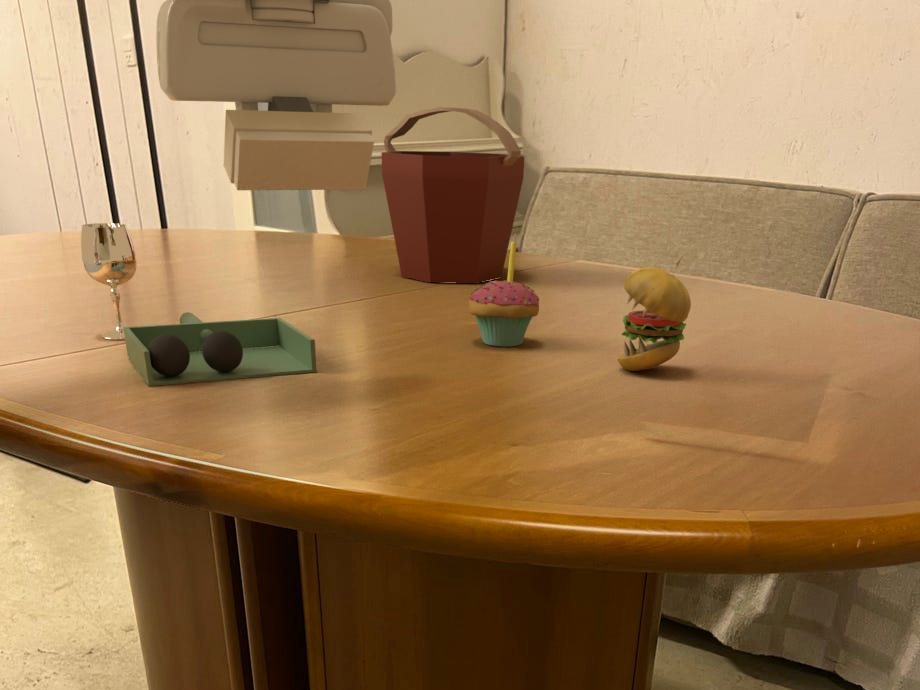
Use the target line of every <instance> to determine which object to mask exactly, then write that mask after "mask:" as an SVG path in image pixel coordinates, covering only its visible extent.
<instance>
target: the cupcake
mask: <svg viewBox="0 0 920 690" xmlns="http://www.w3.org/2000/svg"><path fill="white" fill-rule="evenodd" d="M516 237H517V234H516V233H514V234H513V241H510V249H509V259H508V269H507V279H505V280H502V279H499V280H494V281H489V282H484V284H483V285H481V286H480V287H478V288H476V289H475V290H474V291H473V292H472V293H471V296H469V297H468V299H469V301H468V310H469V313H470V315H472V316H474V318H475V321H477V325H478V329H479V331H480V336H481V339H482V343H484V344H485V345H488V346H492V347H499V348H511V347H518V346H520V345H522V344H523V341H524V338H525V336H526V332H527V330H528V328H529V325H530V322H531V321H532V319H533V317H536V316H538V314H539V311H540V297H539V296H538V295H537V293H536V292H535V290H533V289H532V288H530V287H529V286H528V285H525V284H524V283H522V284H521V283H519V282H516V281H514V271H515V263H516V255H517V254H516V252H517V244H518V242H517V241H516Z"/></svg>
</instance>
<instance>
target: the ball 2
mask: <svg viewBox="0 0 920 690" xmlns="http://www.w3.org/2000/svg"><path fill="white" fill-rule="evenodd" d="M243 349H244V348H243ZM243 349H242V345H241V343H240V341H239V340H238V339H237V338H236V337H235V336H234V335H233V334H231V333H229V332H225V331H216V332H213V333H211V334H210V335H209V336H208V337H207V338H206V339H205V341H204V343H203V346H202V351H201V352H202V354H203V357H204V360H205V362H206V363H207V364H208V365H209V366H210V367H211V368H212V369H214V370H216V371H219V372H229V371H232V370H234V369H236V368H237V367H238V366H239V364H240V363H241V361H242V358H243Z"/></svg>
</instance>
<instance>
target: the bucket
mask: <svg viewBox="0 0 920 690" xmlns="http://www.w3.org/2000/svg"><path fill="white" fill-rule="evenodd" d="M450 112H455V113H456V112H457V113H462V114H466V115H467V116H470V117H471V118H474V119H475V120H476V121H478V122H480V123H482V124H483V125H485V126H486V127H487V128H488V129H489V130H491V131H492V132H493V133H494V134H495V135H497V137H498V139H499V141H500V142H501V144H502V145H503V147H504V148H505V150H506V152H507V153H492V152H469V151H447V150H445V151H444V150H443V151H441V150H440V151H439V150H438V151H435V150H433V151H432V150H431V151H430V150H396V148H395V147H394V145H393V144H392V140H394V139H396V138H399V137H403V136H405V135H406V134H407V133H408V132H409V131H410V130H412V128H413V127H414V126H415V125H416V124H417V122H418V121H419V120H422V119H425V118H428V117H431V116H434V115H438V114H443V113H450ZM383 145H384V150H385V151H382V152H381V177H382V181H383V186H384V191H385V197H386V202H387V207H388V213H389V217H390V222H391V223H390V224H391V228H392V233H393V238H394V243H395V249H396V253H397V257H398V258H397V259H398V264H399V270H400V275H401V277H402V276H403V277H407V278H406V279H408V278H412V279H411V280H413V279H416V280H415V281H417V280H420V281H419V282H422V281H425V282H424V283H427V282H456V283H478V282H482V281H486V280H490V279H495V278H499V277H501V278H502V277H503V273H504V267H505V264H506V258H507V254H508V250H509V245H510V242H511V236H512V231H513V227H514V222H515V218H516V214H517V208H518V204H519V199H520V194H521V191H522V186H523V181H524V173H525V156H523V155H522V153H521V152H522V151H521V149H520V146H519V145H518V143H517V141H516V140H515V138H514V137H513V135H512V133H511V132H510V131H509V130H508V129H507V128H505V126H503V125H502V124H501V123H499V122H498V121H497V120H495V119H493V118H492V117H490V116H488V115H487V114H485V113H483V112H481V111H479V110H477V109H471V108H464V107H448V106H447V107H443V106H440V107H439V106H438V107H434V108H428V109H427V108H426V109H423V110H418V111H415V112H411V113H409V114H405V116H404V117H403V118H402V119H401V120H400V122H398V124H396V125H395V126H394V128H392V129H391V130H390V131H389V132H388V133H387V134H386V135H385V136H384V140H383ZM403 277H402V278H403Z"/></svg>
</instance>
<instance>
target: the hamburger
mask: <svg viewBox="0 0 920 690" xmlns="http://www.w3.org/2000/svg"><path fill="white" fill-rule="evenodd" d="M682 258H683V255H682V254H681V255H680V257H679V259H678V260H677V261H676V263H675V269H674V271H673V274H672V273H670V272H668V271H666V270H664V269H661V268H657V267H654V266H653V267H652V266H645V267H640V268H637V269H635V270H633V271H632V272H631V273H629V274H628V275H627V276H626V278H625V279H624V283H623V288H624V290H625V292H626V293H627V295H628V298H627V305H628V304H629V303H630V302H631V301H632V300H633V301H634V303H633V306H632V308H631V311H630V312H628V315H627V314H625V315H623V317H622V322H623V325H624V331H622V333H621V336H623V337H625V338H626V339H629V340H628V344H627V342H626V341H625V340H624V342H623V347H624V348H623V352H624V354H622V355H619V356H618V357H617V362H618V364H619V366H620V367H621V368H622V369H624V370H626V371H631V372H637V371H638V372H639V371H644V370H648V369H652V368H655V367H658V366H660V365H663V364H664V363H666V362H668V361H670V360H671V359H672V358H674V357H675V356H676V355H677V354H678V352H679V351H680V347H681V341H684V339H685V336H684V334H683V333H684V329H685V328H686V326H687V323H684V322H685V321H686V320H687V319H688V317H689V314H690V311H691V305H692V302H691V297H690V293H689V291H688V289H687V288H686V286H685V285H684V283H683V282H682V281H681V280H680V279H679V278H677V277H676V276H674V274H675V272H677V271H676V270H677V269H678V266H679V264H680V262H681V260H682ZM638 305H641V306H642V307H644V310H634V309H635V308H636V307H637V306H638ZM637 339H638V347H637V348H636V346H635V345H634V343H633V341H635V340H637ZM661 339H662V340H661ZM644 342H645V343H648V342H652V343H649V344H646V345H645V343H644Z"/></svg>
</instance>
